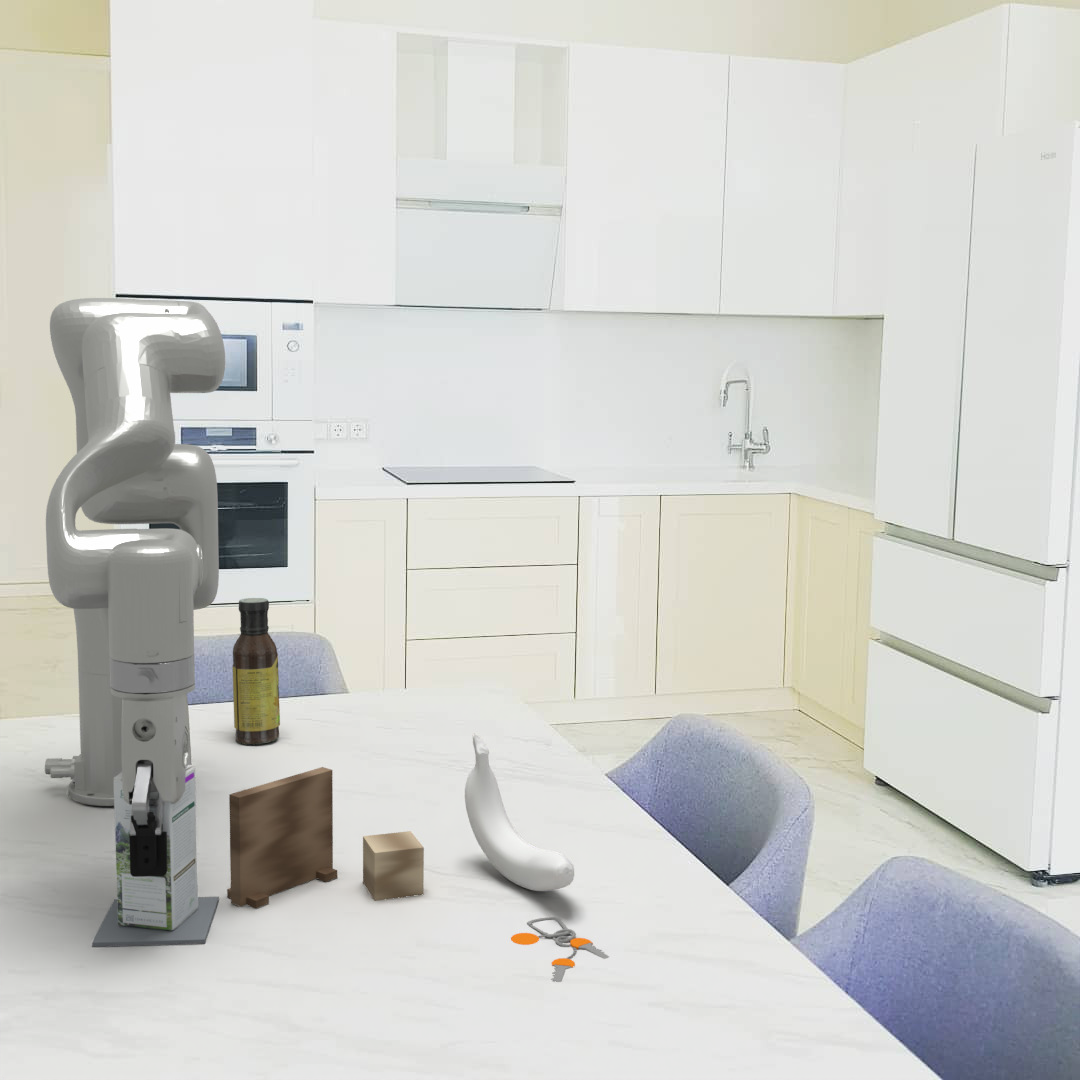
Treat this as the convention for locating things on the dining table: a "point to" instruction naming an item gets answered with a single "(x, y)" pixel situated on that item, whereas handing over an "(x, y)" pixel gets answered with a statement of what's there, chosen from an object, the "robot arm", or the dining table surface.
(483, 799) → the banana
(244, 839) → the screen
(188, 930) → the mat
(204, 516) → the robot arm
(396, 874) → the oak cube
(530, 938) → the key chain
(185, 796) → the syrup box
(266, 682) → the sauce bottle
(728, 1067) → the dining table surface
